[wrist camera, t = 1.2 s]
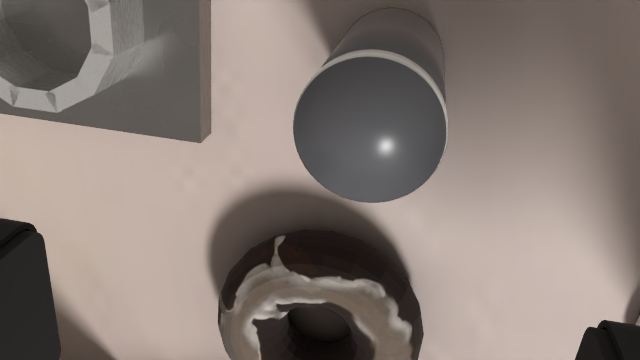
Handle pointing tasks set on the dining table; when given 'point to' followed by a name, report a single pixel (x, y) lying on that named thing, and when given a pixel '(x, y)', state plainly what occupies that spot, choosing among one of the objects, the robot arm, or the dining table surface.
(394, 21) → the lens
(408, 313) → the donut
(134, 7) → the mount
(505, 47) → the dining table surface
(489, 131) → the dining table surface
